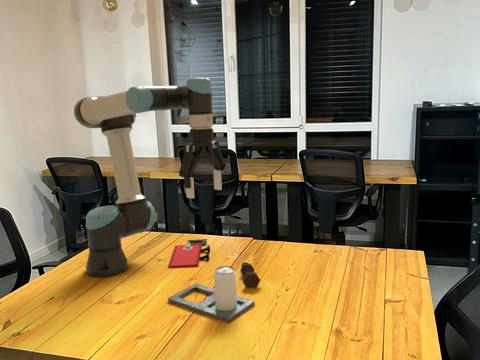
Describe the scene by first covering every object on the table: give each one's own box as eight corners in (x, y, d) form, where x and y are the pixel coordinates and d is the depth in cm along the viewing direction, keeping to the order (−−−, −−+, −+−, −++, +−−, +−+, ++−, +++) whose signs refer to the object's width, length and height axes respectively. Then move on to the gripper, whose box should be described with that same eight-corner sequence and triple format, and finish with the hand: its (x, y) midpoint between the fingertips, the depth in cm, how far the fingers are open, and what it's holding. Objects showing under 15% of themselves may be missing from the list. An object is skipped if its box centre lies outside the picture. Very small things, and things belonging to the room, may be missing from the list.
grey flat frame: (168, 301, 139) (167, 298, 139) (196, 286, 149) (195, 283, 149) (228, 322, 125) (228, 318, 125) (254, 304, 135) (254, 300, 135)
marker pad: (207, 310, 133) (207, 309, 133) (223, 299, 139) (223, 299, 139) (228, 317, 128) (228, 316, 128) (244, 306, 134) (244, 305, 134)
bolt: (247, 275, 162) (254, 292, 147) (235, 270, 161) (241, 286, 146) (255, 261, 161) (262, 276, 146) (243, 256, 160) (249, 270, 146)
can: (240, 303, 136) (238, 266, 133) (232, 313, 130) (230, 275, 127) (220, 301, 138) (218, 264, 135) (212, 310, 132) (210, 272, 129)
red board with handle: (211, 240, 196) (177, 242, 196) (211, 234, 196) (177, 236, 195) (208, 267, 167) (168, 270, 167) (207, 260, 166) (167, 263, 166)
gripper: (182, 131, 128) (186, 203, 132) (234, 125, 148) (237, 187, 152) (164, 131, 132) (168, 200, 137) (217, 124, 152) (220, 185, 156)
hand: (204, 193), depth 144 cm, fingers open, 13 cm apart
